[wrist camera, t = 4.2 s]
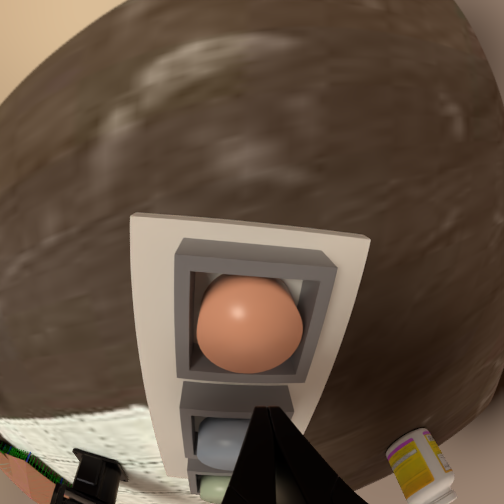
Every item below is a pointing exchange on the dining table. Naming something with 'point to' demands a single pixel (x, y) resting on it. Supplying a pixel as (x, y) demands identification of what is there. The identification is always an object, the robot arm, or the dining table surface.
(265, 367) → the terracotta button
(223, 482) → the sage button
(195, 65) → the dining table surface
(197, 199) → the dining table surface
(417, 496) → the supplement bottle
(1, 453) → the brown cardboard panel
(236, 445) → the slate blue button
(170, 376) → the button panel
